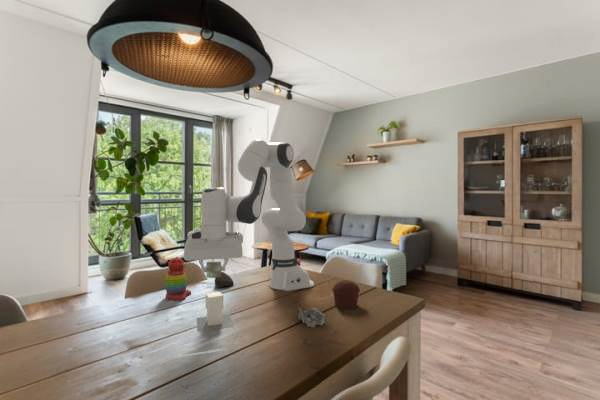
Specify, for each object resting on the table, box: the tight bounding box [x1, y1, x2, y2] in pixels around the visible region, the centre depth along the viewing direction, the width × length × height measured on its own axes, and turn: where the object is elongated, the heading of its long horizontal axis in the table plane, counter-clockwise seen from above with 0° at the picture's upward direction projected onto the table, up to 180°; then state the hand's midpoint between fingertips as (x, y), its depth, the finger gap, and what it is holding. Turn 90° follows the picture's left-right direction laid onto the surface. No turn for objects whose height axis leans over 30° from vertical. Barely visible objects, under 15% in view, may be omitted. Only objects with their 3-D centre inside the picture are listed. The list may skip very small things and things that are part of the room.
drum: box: [205, 260, 222, 279], centre depth 113 cm, size 5×5×5 cm
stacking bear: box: [164, 256, 192, 302], centre depth 142 cm, size 11×10×18 cm
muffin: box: [331, 279, 361, 310], centre depth 131 cm, size 12×11×10 cm
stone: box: [214, 271, 234, 288], centre depth 159 cm, size 10×8×10 cm
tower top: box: [205, 291, 224, 312], centre depth 113 cm, size 5×5×5 cm
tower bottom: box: [206, 309, 223, 326], centre depth 113 cm, size 5×5×5 cm
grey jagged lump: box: [297, 307, 326, 328], centre depth 116 cm, size 11×8×4 cm
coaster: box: [196, 313, 234, 333], centre depth 113 cm, size 12×12×1 cm
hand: (213, 271), depth 113 cm, fingers closed on drum, 5 cm apart
